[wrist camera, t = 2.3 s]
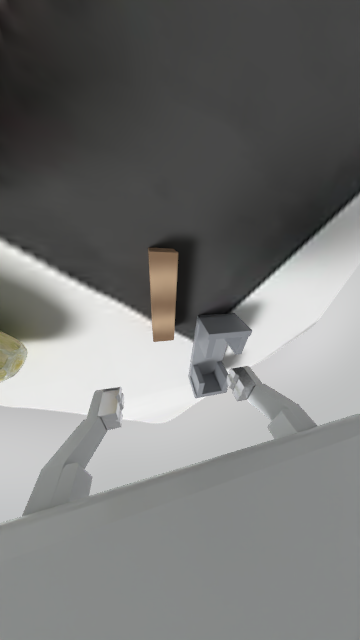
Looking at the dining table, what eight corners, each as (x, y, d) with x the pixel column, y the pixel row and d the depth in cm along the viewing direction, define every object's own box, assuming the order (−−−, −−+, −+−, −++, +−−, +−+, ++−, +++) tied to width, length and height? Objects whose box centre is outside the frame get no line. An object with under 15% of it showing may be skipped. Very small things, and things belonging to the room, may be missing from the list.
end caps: (197, 315, 27) (208, 334, 23) (234, 313, 29) (252, 330, 24) (188, 376, 38) (195, 398, 33) (216, 371, 39) (226, 392, 34)
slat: (148, 247, 20) (148, 251, 16) (172, 248, 20) (178, 252, 17) (152, 328, 27) (153, 341, 24) (170, 326, 28) (173, 339, 25)
